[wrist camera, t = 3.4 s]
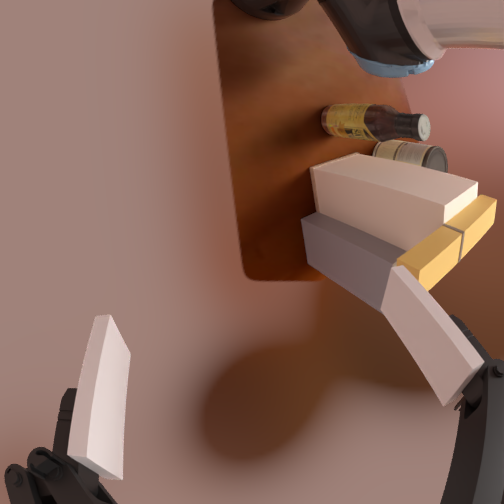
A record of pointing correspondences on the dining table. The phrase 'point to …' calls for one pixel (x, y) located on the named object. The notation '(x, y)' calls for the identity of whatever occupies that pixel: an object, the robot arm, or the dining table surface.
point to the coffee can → (412, 154)
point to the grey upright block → (350, 256)
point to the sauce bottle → (373, 122)
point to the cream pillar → (389, 197)
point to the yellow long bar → (449, 242)
